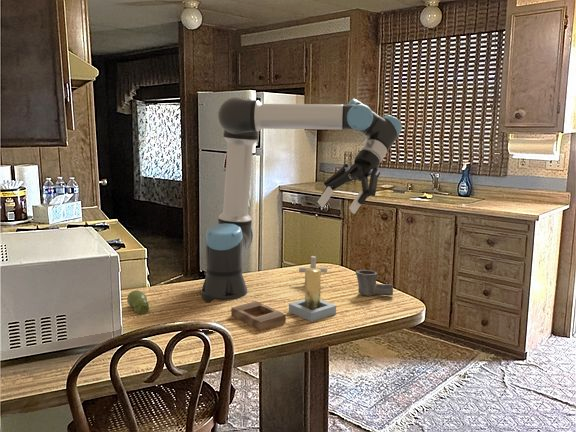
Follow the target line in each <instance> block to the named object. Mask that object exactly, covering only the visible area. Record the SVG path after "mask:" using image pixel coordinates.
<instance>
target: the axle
mask: <svg viewBox="0 0 576 432" xmlns="http://www.w3.org/2000/svg"><path fill="white" fill-rule="evenodd" d="M309 268H310V267H309ZM321 274H322V273H321V270H320V269H315V268H310V269H306V270H305V272H304V299H305V308H308V309H310V310H314V309H318V308H320V300H321V288H322V287H321V285H322V284H321V278H322V277H321V276H322V275H321Z"/></svg>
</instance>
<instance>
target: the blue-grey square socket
mask: <svg viewBox="0 0 576 432" xmlns="http://www.w3.org/2000/svg"><path fill="white" fill-rule="evenodd" d="M288 313H290V314H292V315H296V316H298V317H300V318H301V319H305V320H307V321H309V322H314V321H315V322H316V321H318V320H321V319H324V318H327V317H330V316H334V315H336V314H337V305H335V304H333V303H331V302H327V301H325V300H322V299H320V308H318V309H314V310H310V309H308V308H305V298H304V299H302V300H301V299H300V300H297V301H294V302H290V303H288Z"/></svg>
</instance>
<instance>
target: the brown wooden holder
mask: <svg viewBox="0 0 576 432" xmlns="http://www.w3.org/2000/svg"><path fill="white" fill-rule="evenodd" d="M230 311H231V312H230V313H231V314H230V315H231V317H233V318H234V319H237V321H241V322H242V323H244V324H247V325H248V326H250V327H252V328H254V329H256V330H258V331H260V332H261V331H264V330H265V331H266V330H268V329H272V328H274V327H277V326H280V325H283V324H286V322H287V320H286V319H287V318H286V317H287V315H286V314H285V313H284V312H281V311H279V310H277V309H274V308H272V307H270V306H269V305H266V304H264V303H261V302H258V300H257V301H256V300H255V301H252V302H248V303H244V304H240V305H236V306H233V307H232V306H231V309H230Z"/></svg>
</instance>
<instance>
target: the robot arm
mask: <svg viewBox="0 0 576 432" xmlns="http://www.w3.org/2000/svg"><path fill="white" fill-rule="evenodd" d="M217 118H218V123H219V124H220V126H221V128H222V129H223V136H222V137H223V139H224V140H225V141H226V143H227V146H226V163H225V178H224V179H225V180H224V194H223V209H222V210H223V211H222V213H220V214H219V215H218V217H217V224H215V225H211V226H210V227H208V228H207V230H206V233H205V253H206V254H205V259H206V261H205V262H206V265H205V266H206V267H205V268H206V269H205V270H206V274H205V278H204V281H203V285H202V287H201V291H200V293H201V294H200V295H201V299H202V300H203V301H204V302H207V303H212V302H213V301H215V300H216V301H217V300H218V301H230V300H231V301H232V300H236V299H240V298H242V297H245V296H247V294H248V288H247V285H246V281H245V279H244V276H243V254H245V252H246V251H248V249H249V248H250V246H251V245H252V243H253V238H254V232H253V228H252V220H253V219H252V217H251V216H250V214H249V203H250V202H249V201H250V189H251V188H250V186H251V176H252V174H251V173H252V161H253V150H254V149H253V148H254V144H256V142H258V139H259V132H260V131H261V130H263V129H264V130H266V129H268V130H269V129H270V130H272V129H273V130H276V129H277V130H278V129H279V130H289V129H290V130H345V131H346V130H347V131H348V130H349V131H350V130H351V131H359V132H361V133H362V134H364V135H365V136H366V137H368V139H367V140H366V142H365V143H364V144H363V146H362V147H361V149H360V150H359V152H357V154H356V156H355V157H354V159H353V161H354V162H353V164H352V165H348V163H344V164H343V165H342V167H341V168H339V170H337V172H335V173H334V174H333V175H331V176H330V177H329V178H327V180H325V181H323V185H324V186H325V189H324V190H323V191H322V193H321V196H320V197H319V199H318V200H317V203H318V205H319V206H320V207H321V208H324V207H325V206H326V204H327V203H328V202H329V200H330V199H331V197H332V195H333V194H334V190H337V189H338V188H339V187H341V186H343V185H345V184H346V183H348V182H352V181H358V182H361V189H362V190H361V191H359V192H358V194H357V195H356V197H355V198H354V199H353V201H352V203H351V204H349V205H350V206H349V207H348V209H349V210H350V212H351V213H352V214H353V215H355V214H356V213H357V211H358V210H359V208H360V207H361V205H364V203H365V202H366V200H367V199H368V198H369V197H370V196H372V197H375V196H376V195H377V187H378V179H379V176H380V175H381V171H380V170H379V169H378V167H379V166H380V164H381V163H382V161H383V160H384V158H385V156H386V155H387V154H388V152H389V150H390V149H391V148H392V146H393V145H394V143H395V142H396V140H397V139H398V137H399V136H400V134H401V131H402V130H403V125H402V123H401V121H400V120H399V119H398V118H397V117H395V116H392V115H390V114H386V115H384V116H383V117H381V116H380V115H378V114H377V113H376V112H374V111H373V110H372V108H370V106H368V105H367V104H365V103H364V104H363V103H362V101H359V100H357V99H356V98H352V99H350V101H348V103H347V104H338V103H337V104H331V103H329V104H327V103H325V104H323V103H315V104H314V103H312V104H311V103H262V102H261V101H260V100H257V99H256V100H253V99H250V98H246V97H239V96H238V97H231V98H228V99H226V100H225V101H223V102H222V104H221V105H220V106H219V108H218V113H217ZM369 177H370V178H369Z"/></svg>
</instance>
